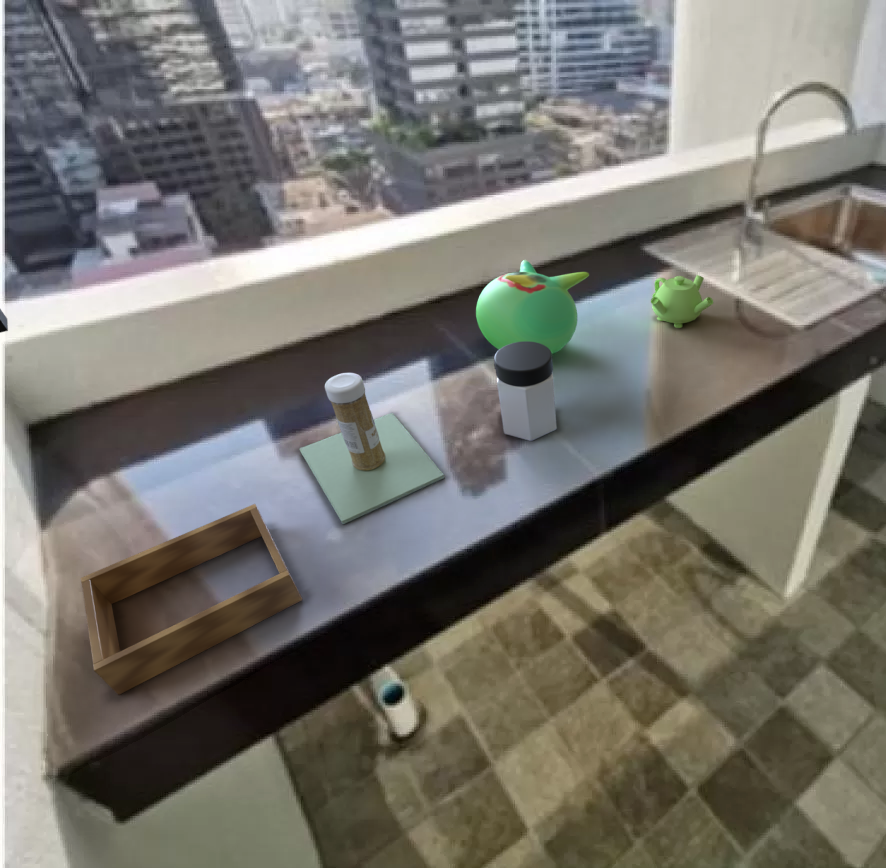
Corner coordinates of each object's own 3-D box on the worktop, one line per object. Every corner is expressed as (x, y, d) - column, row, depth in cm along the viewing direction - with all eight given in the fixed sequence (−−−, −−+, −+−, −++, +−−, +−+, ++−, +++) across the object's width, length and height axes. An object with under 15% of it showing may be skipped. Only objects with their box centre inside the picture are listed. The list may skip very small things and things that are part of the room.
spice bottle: (392, 461, 84) (368, 381, 76) (361, 476, 82) (333, 395, 73) (376, 446, 87) (351, 367, 78) (346, 460, 84) (317, 380, 76)
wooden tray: (118, 695, 59) (93, 670, 56) (102, 603, 67) (80, 577, 64) (302, 600, 67) (289, 574, 64) (268, 528, 75) (255, 503, 73)
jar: (540, 400, 96) (534, 333, 89) (569, 425, 91) (565, 357, 84) (490, 421, 92) (480, 353, 85) (518, 448, 87) (509, 379, 80)
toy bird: (463, 352, 108) (449, 275, 99) (527, 316, 119) (520, 243, 109) (538, 386, 100) (531, 304, 90) (600, 344, 110) (599, 267, 101)
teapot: (645, 305, 122) (647, 265, 116) (702, 304, 122) (706, 264, 116) (649, 332, 113) (651, 291, 108) (710, 332, 113) (715, 290, 108)
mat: (444, 477, 82) (444, 474, 82) (343, 524, 76) (341, 521, 75) (392, 415, 94) (392, 412, 93) (300, 451, 87) (299, 448, 87)
